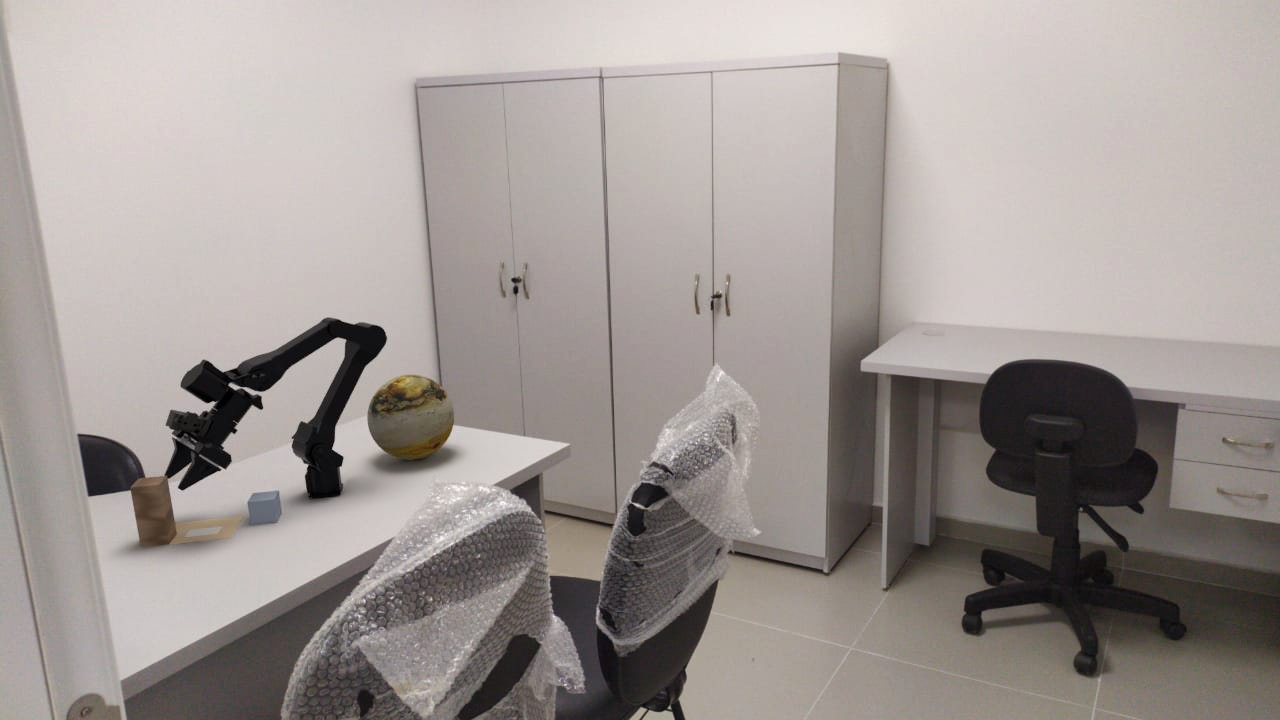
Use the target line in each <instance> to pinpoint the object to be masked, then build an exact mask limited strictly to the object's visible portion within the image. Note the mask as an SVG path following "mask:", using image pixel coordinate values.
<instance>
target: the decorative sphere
mask: <svg viewBox="0 0 1280 720" xmlns="http://www.w3.org/2000/svg"><path fill="white" fill-rule="evenodd" d="M453 405H454V404H453V402H452V400H451V397H450V396H449V394H448V393H447V391H446V390H445V388H443V387H442V386H441V385H440V384H439V383H438V382H437V381H435V380H433V379H432V378H429V377H426V376H423V375H419V374H405V375H404V374H403V375H400V376H397V377H394V378H392V379H389V380H388V381H386V382H384V384H383V385H381V386H380V387H379V388H378V389H377V390H376V392H374V395H373V396H372V398H371V399H370V402H369V405H368V409H367V425H368V431H369V433H370V435H371V437H372V440H373V441H374V443H375V444H376V445H377V446H378V447H379V448H380V449H381V450H382V451H383V452H385V453H386V454H388V455H390V456H392V457H395V458H397V459H401V460H409V461H411V460H419V459H424V458H426V457H429V456H431V455H432V454H434V453H436V452H437V451H438V450H440V449H441V448H442V447H443V446H444V445H445V444H446V443H447V441H448V439H449V438H450V436H451V433H452V432H453V428H454V424H455V410H454V406H453Z"/></svg>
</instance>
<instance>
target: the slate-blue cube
mask: <svg viewBox="0 0 1280 720" xmlns="http://www.w3.org/2000/svg"><path fill="white" fill-rule="evenodd" d="M246 504H247V507H248V508H247V509H248V518H249V524H250V526H256V525H266V524H276V523H278V522H279V520H280V518H281V516H282V514H283V511H282V505H281V497H280V490H272V491H271V490H270V491H260V492H253V493H252V494H251V496H250V497H249V498H248V500H247V503H246Z"/></svg>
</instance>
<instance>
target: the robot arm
mask: <svg viewBox="0 0 1280 720" xmlns="http://www.w3.org/2000/svg"><path fill="white" fill-rule="evenodd" d="M386 333H387V332H386V331H385V329H384V328H383V327H382V326H380V325H378V324H373V323H369V322H365V321H362V322H360V321H359V322H356V323H354V324H353V323H349V322H346V321H343V320H342V319H338V318H336V317H335V318H334V317H324V318H323V319H321V320H320V322H318V323H317V324H315V325H314V326H312V327H310V328H309V329H307V330H305V331H304V332H303V333H301V334H299V335H297V336H296V337H294V338H292V339H291V340H289V341H288V342H286V343H284V344H282V345H281V346H279V347H278V348H276V349H274V350H272V351H269V352H266V353H265V352H264V353H261V354H259V355H258V354H257V355H256V356H253V357H251V358H248V359H246V360H244V361H243V360H242V362H240V363H239V364H238V366H237V367H234V368H232V369H229V370H225V371H222V370H220V369H219V368H217V367H216V366H215V365H214V364H213V363H212V362H210V361H209V360H206V359H202V360H201V361H200V363H198V364H196V365H194V366H193V367H192V368H191V369H190V370H187V371H186V373H185V374H184V375H183V378H182V379H181V381H180V385H179V386H180V388H181V389H183V390H184V391H186V392H188V393H189V394H191V396H194V397H195V398H197V399H198V400H200V401H202V402H203V403H204V404H210V403H215V404H214V405H213V406H212V407H211V408H210V410H203V411H202V412H201V413H200V415H199V414H198V413H196V412H190V411H186V412H185V411H179V410H176V409H170V410H169V413H168V416H167V419H166V422H165V426H166V427H168V428H169V429H170V430H172V432H171V435H173V436H174V437H173V436H172V438H171V440H172V443H173V447H174V449H173V453H172V456H171V458H170V460H169V463H168V465H167V466H166V470H165V472H164V475H163V476H167V478H168V480H169V479H171V478H173V477H175V476H176V475H177V474H178V473H180V472H181V471H182V470H184V469H185V468H186V467H188V466H189V467H188V468H187V470H186V471H185V473H184V475H183V477H182V479H181V480H180V482H179V484H178V486H177V489H179V490H181V492H183V491H185V490H187V489H188V488H190V487H192V486H194V485H196V484H197V483H199V482H201V481H203V480H205V479H206V478H208V477H210V476H212V475H213V474H215V473H218V472H221V471H222V469H224V470H227V469H228V467H229V466H230V464H232V462H233V459H232V454H231V453H229V452H227V451H226V450H225V447H224V446H223V445H224V443H225V441H226V440H227V439H228V438H229V436H230V435H231V434H232V435H235V434H236V433H237V432H238V429H237V428H236V427H237V426H238V424H239V423H240V422H241V421H242V420H243V418H244V417H245V416H246V414H247V413H248V412H249V410H250V409H251V408H252V407H255V408H256V409H258V410H260V411H262V410H263V409H264V405H263V399H262V398H263V396H262V395H260V394H257V393H256V394H252V393H251V392H249V391H247V390H246V389H244V388H247V389H249V390H251V391H254V392H258V393H259V392H261V393H262V392H263V393H264V392H267V391H268V390H270V389H271V388H272V387H274V386H275V385H276V384H277V383H278V382H279V381H280V380H281V379H282V378H283V377H284V375H285V374H286V372H287V371H288V370H289V369H290V368H291V367H293V366H294V365H296V364H297V363H299V362H300V361H302V360H304V359H306V358H307V357H308V356H310V355H311V354H313V353H315V352H316V351H318V350H319V349H321V348H322V347H324V346H325V345H327V344H329V343H330V342H332V341H333V340H335V339H337V338H338V339H342V340H345V343H344V357H343V360H342V362H341V364H340V366H339V367H338V369H337V371H336V374H335V375H334V377H333V379H332V381H331V383H330V386H329V388H328V389H327V391H326V393H325V394H324V397H323V399H322V401H321V403H320V405H319V407H318V409H317V411H316V413H315V415H314V416H313V417H312V419H310V420H309V421H308V422H305V421H302V420H301V421H299V424H298V426H297V429H296V431H295V433H294V434H293V435H292V436H291V437H290V438H291V439H292V440H293V441H292V443H291V448H292V452H293V454H294V455H295V456H296V457H297V458H299V459H301V461H302V463H303V464H305V465H307V467H306V472H305V475H304V479H305V488H306V493H307V494H308V495H307V497H308V499H317V498H319V499H320V498H328V497H336V496H340V495H341V494H342V491H343V488H344V483H342V477H341V475H342V474H341V469H340V468H342V467H343V462H344V458H345V457H344V456H343V455H342V454H340V453H339V452H336V451H335V450H334V444H335V441H336V426H337V424H338V422H339V420H340V419H341V416H342V414H343V412H344V410H345V409H346V406H347V404H348V402H349V400H350V398H351V396H352V394H353V392H354V389H355V388H356V386H357V384H358V382H359V381H360V379H361V376H362V374H363V372H364V370H365V368H367V366H368V365H369V364H370V363H371V362H373V361H374V360H375V359H376V358H378V355H380V353H381V352H382V350H383V349H384V348H385V346H386V344H387V341H388V337H387V334H386ZM230 384H232V385H234V386H237V387H239V388H237V389H235V388H233V387H231V386H230ZM175 437H176V438H175Z"/></svg>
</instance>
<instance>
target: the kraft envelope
mask: <svg viewBox="0 0 1280 720" xmlns="http://www.w3.org/2000/svg"><path fill="white" fill-rule="evenodd" d="M243 518H244V515H240V516H239V515H238V516H228V517H220V518H212V519H200V520H192V521H184V522H183V521H182V522H175V526H176V532H177V534H176V536H175V537H174V539H173V540H172V541H171V543H170V544H168V545H167V546H169V545H178V544H186V543H196V542H206V541H215V540H222V539H232V537H233V534H235V531H236V530H237V528H238V526H239V524H240V522H241V521H242V519H243ZM161 546H162V545H159V546H158V547H161ZM151 547H153V546H150V547H149V548H151Z"/></svg>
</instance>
